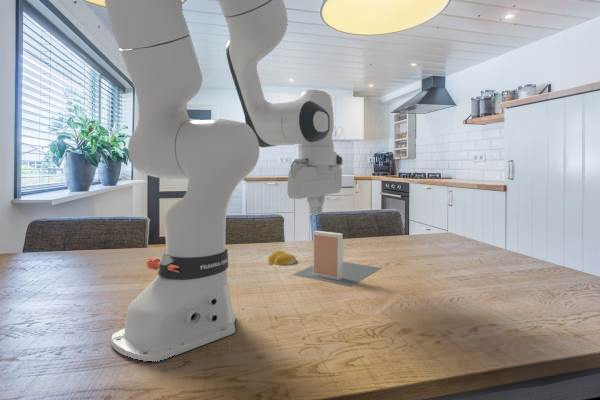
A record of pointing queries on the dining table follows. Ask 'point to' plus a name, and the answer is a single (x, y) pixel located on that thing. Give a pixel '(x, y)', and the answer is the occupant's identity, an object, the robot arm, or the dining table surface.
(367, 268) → the mat
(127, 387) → the dining table surface
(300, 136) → the robot arm
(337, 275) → the tile
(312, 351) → the dining table surface
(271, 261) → the bread roll
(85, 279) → the dining table surface
